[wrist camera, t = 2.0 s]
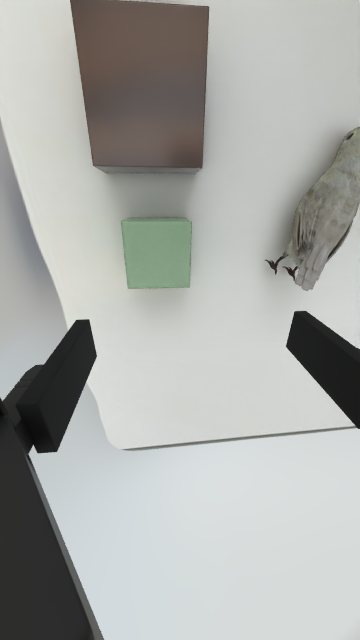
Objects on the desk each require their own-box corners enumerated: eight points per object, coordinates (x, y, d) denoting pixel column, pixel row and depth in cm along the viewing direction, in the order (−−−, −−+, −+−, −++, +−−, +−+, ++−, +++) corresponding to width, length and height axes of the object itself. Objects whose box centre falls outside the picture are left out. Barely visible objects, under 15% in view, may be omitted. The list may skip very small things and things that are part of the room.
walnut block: (89, 41, 20) (69, -4, 16) (199, 46, 21) (209, 5, 17) (105, 172, 25) (93, 166, 21) (195, 174, 26) (202, 168, 21)
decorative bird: (367, 145, 26) (438, 126, 19) (291, 277, 32) (324, 297, 26) (328, 124, 25) (389, 95, 18) (258, 265, 31) (283, 282, 25)
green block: (128, 217, 27) (120, 221, 22) (186, 217, 28) (191, 221, 23) (133, 275, 30) (127, 288, 26) (185, 274, 31) (189, 287, 26)
